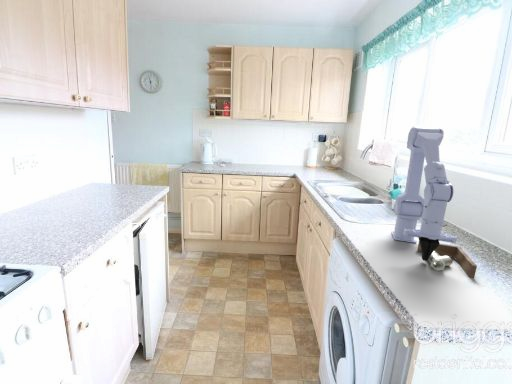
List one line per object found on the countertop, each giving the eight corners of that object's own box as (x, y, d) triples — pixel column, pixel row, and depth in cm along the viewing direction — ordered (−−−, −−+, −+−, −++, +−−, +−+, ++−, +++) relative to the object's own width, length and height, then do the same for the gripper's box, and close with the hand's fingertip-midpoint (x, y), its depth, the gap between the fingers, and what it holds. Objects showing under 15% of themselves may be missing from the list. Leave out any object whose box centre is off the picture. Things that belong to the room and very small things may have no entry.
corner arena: (417, 250, 104) (419, 240, 103) (457, 257, 100) (459, 246, 99) (426, 269, 90) (428, 257, 89) (474, 278, 86) (477, 266, 85)
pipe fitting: (447, 264, 95) (425, 259, 97) (450, 254, 94) (428, 248, 96) (455, 275, 88) (430, 269, 90) (458, 264, 87) (433, 258, 89)
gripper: (409, 220, 89) (402, 260, 92) (463, 227, 85) (454, 269, 88) (405, 214, 96) (399, 251, 99) (456, 220, 91) (447, 260, 94)
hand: (424, 259), depth 94 cm, fingers closed
